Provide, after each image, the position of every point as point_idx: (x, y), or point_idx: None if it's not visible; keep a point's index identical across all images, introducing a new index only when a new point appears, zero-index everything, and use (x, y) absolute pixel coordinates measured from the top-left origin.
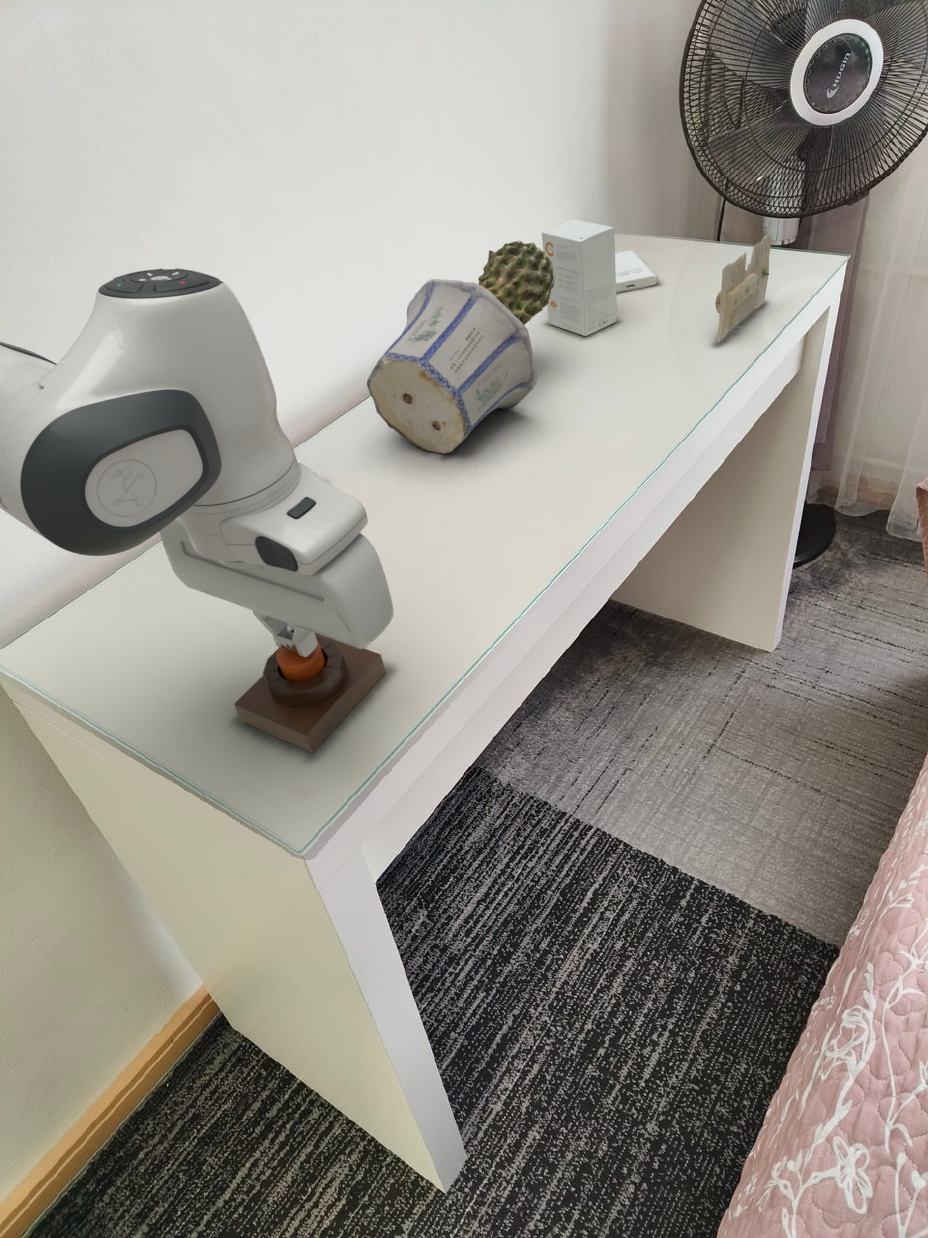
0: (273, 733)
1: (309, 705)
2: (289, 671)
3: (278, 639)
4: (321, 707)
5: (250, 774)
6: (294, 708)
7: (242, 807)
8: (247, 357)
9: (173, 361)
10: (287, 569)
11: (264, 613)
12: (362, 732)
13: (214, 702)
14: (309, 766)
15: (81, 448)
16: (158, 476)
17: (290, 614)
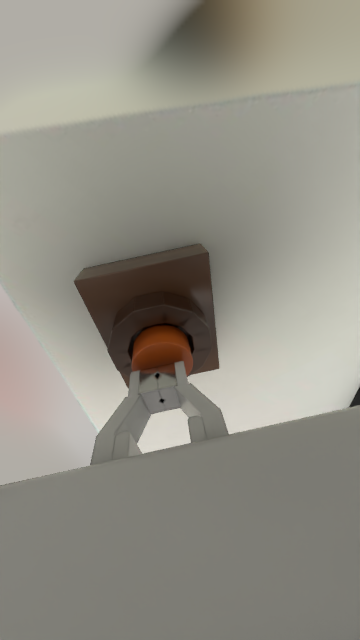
0: (143, 257)
1: (117, 313)
2: (148, 339)
3: (174, 378)
4: (104, 319)
5: (111, 190)
6: (130, 299)
7: (57, 133)
8: None
9: None
10: None
11: (157, 459)
12: (75, 319)
13: (258, 240)
14: (67, 253)
15: None
16: None
17: (45, 526)
